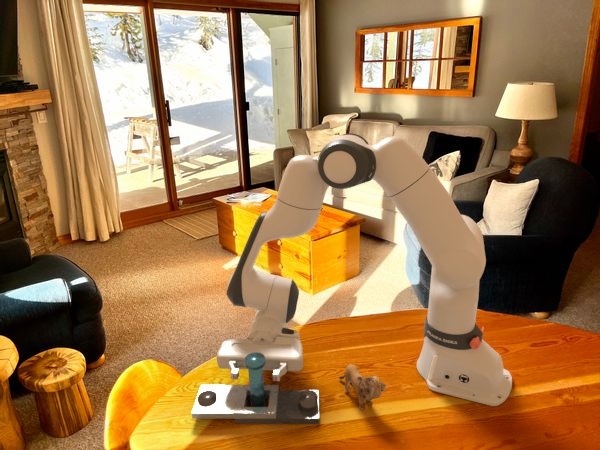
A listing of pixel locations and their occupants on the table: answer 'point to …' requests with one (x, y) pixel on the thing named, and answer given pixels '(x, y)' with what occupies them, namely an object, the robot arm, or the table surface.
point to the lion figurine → (363, 385)
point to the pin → (256, 378)
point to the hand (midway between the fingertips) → (254, 377)
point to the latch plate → (279, 411)
